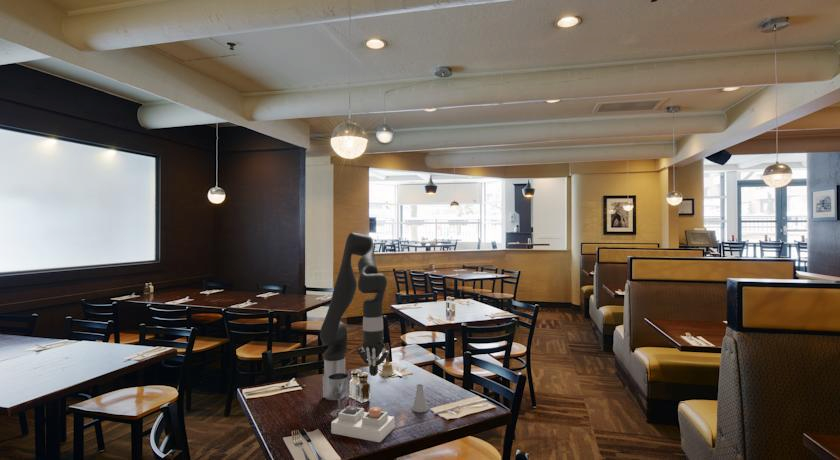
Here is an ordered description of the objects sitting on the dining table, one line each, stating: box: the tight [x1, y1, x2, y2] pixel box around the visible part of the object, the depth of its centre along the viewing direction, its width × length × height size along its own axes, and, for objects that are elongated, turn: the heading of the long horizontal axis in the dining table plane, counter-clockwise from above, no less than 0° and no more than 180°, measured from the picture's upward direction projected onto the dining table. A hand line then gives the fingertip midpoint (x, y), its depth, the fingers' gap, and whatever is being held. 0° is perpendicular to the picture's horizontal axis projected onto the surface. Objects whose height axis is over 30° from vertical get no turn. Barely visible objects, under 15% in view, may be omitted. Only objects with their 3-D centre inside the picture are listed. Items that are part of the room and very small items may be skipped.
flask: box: [411, 383, 429, 414], centre depth 176 cm, size 7×7×10 cm
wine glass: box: [329, 372, 349, 418], centre depth 175 cm, size 8×8×15 cm
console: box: [330, 405, 396, 443], centre depth 159 cm, size 20×12×6 cm, turn 68°
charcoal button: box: [344, 405, 358, 415], centre depth 161 cm, size 4×4×3 cm
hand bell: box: [379, 342, 395, 378], centre depth 220 cm, size 8×8×16 cm
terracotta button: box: [368, 406, 382, 419], centre depth 157 cm, size 4×4×3 cm
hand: (373, 375), depth 157 cm, fingers closed
